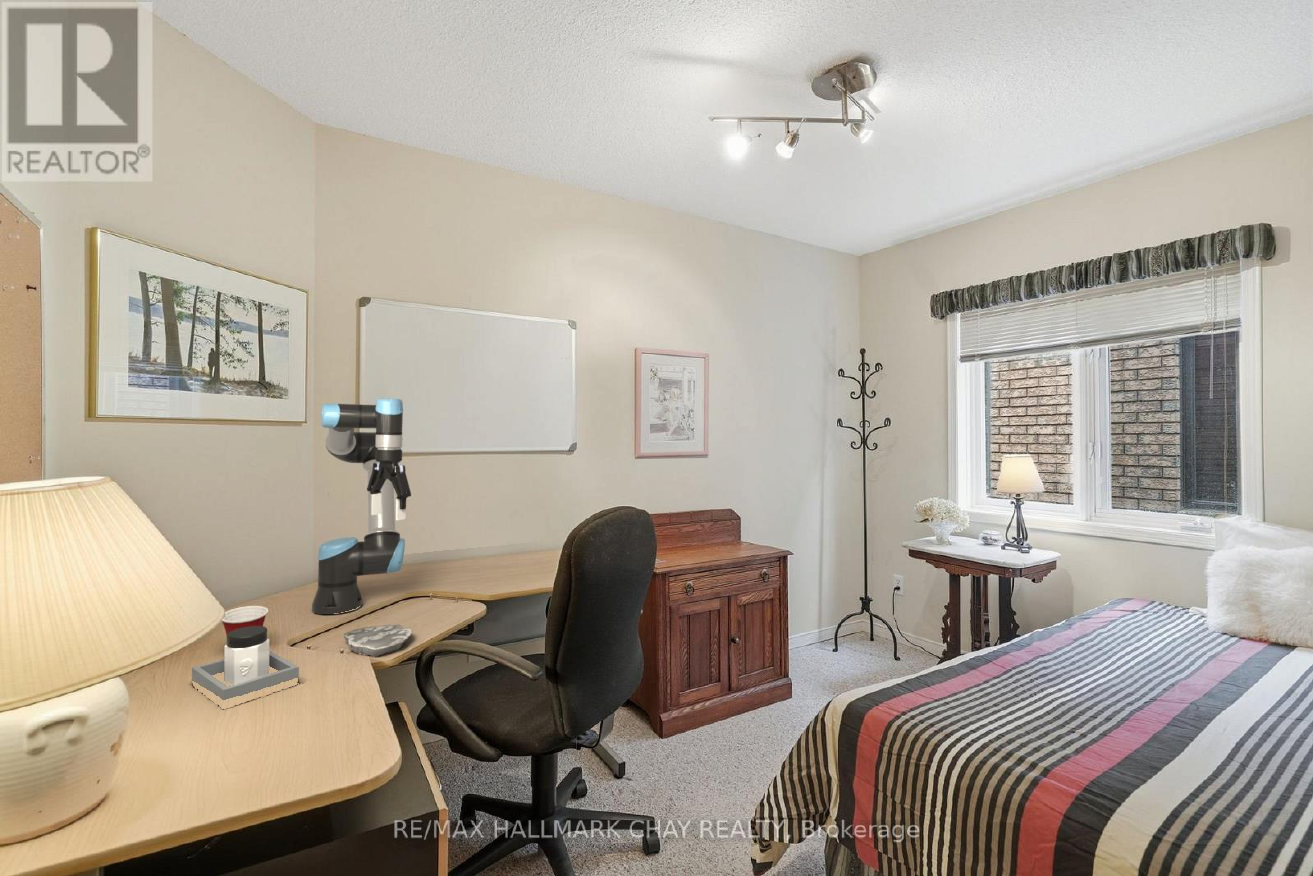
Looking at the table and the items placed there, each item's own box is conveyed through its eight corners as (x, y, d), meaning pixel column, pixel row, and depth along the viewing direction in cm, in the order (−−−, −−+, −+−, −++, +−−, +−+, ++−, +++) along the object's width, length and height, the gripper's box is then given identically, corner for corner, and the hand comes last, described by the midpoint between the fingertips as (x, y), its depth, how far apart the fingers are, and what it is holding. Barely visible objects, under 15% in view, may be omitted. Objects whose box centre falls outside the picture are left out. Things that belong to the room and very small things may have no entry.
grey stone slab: (426, 644, 171) (426, 634, 171) (370, 664, 156) (370, 653, 156) (387, 629, 181) (387, 620, 181) (331, 646, 167) (331, 636, 167)
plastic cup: (215, 666, 151) (215, 621, 151) (223, 651, 161) (223, 608, 161) (265, 659, 156) (265, 615, 156) (270, 645, 166) (270, 603, 166)
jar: (222, 691, 136) (222, 640, 136) (226, 677, 143) (226, 629, 143) (268, 683, 141) (268, 634, 141) (269, 670, 148) (270, 623, 148)
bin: (191, 686, 141) (191, 667, 140) (264, 664, 153) (264, 647, 153) (223, 710, 130) (223, 690, 130) (298, 685, 143) (298, 666, 142)
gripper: (424, 450, 176) (423, 520, 177) (378, 446, 190) (377, 511, 191) (400, 451, 170) (399, 523, 171) (355, 446, 184) (354, 513, 185)
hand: (388, 517), depth 181 cm, fingers open, 13 cm apart
